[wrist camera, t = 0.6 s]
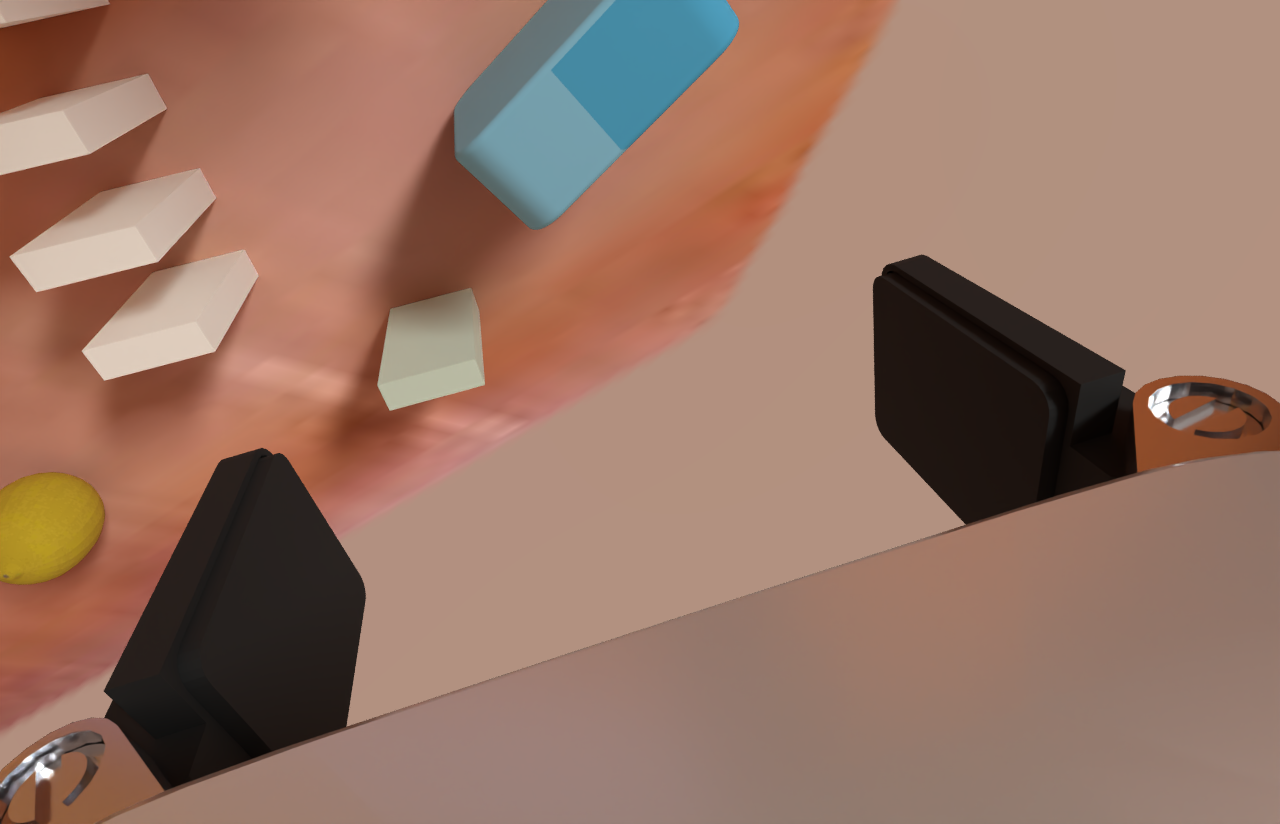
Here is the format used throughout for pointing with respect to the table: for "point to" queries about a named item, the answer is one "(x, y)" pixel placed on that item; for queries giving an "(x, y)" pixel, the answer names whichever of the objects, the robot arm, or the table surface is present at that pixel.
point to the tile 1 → (41, 9)
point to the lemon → (46, 526)
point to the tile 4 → (173, 316)
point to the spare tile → (431, 350)
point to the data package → (581, 94)
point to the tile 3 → (116, 230)
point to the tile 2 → (74, 122)
